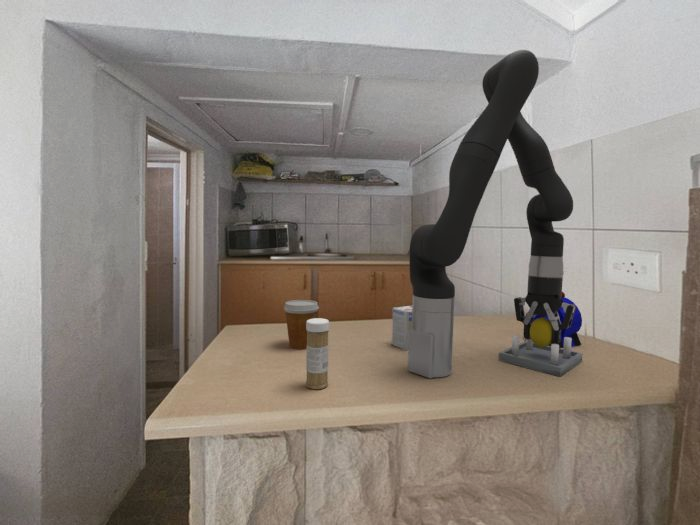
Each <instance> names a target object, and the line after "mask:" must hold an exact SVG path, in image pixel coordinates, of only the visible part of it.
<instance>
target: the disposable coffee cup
mask: <svg viewBox="0 0 700 525" xmlns="http://www.w3.org/2000/svg"><path fill="white" fill-rule="evenodd" d="M319 309H320V307H319V305H318V302H317V301H315V300H308V299H293V300H288V301H286V302H285V304H284V306H283V310H284V312H285V318H286V327H287V334H288V336H287V337H288V345H289V348H291V349H295V350H307V330H306V321H307V320H309V319H314V318H317V315H318V311H319Z"/></svg>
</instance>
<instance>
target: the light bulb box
mask: <svg viewBox="0 0 700 525" xmlns="http://www.w3.org/2000/svg"><path fill="white" fill-rule="evenodd" d="M391 327H392V328H391V329H392V334H391V344H392V345H393V346H395V347H398V348H400V349H402V350H405V351H409V330H411V329H412V305H407V306H405V305H404V306H398V307H392V326H391Z"/></svg>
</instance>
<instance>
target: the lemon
mask: <svg viewBox="0 0 700 525" xmlns="http://www.w3.org/2000/svg"><path fill="white" fill-rule="evenodd" d="M552 330H554V328H553V326H552V323H551V322H550V321H549V320H547V319H545V317H540V318H538V319H535V320H534V321H533V322H532V324H531V326H530V332H529V333H530V338H531V340H532V341H533V343H535V344H536V345H538V347H539V348H543V347H544V346H550V345H551V344H552Z"/></svg>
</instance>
